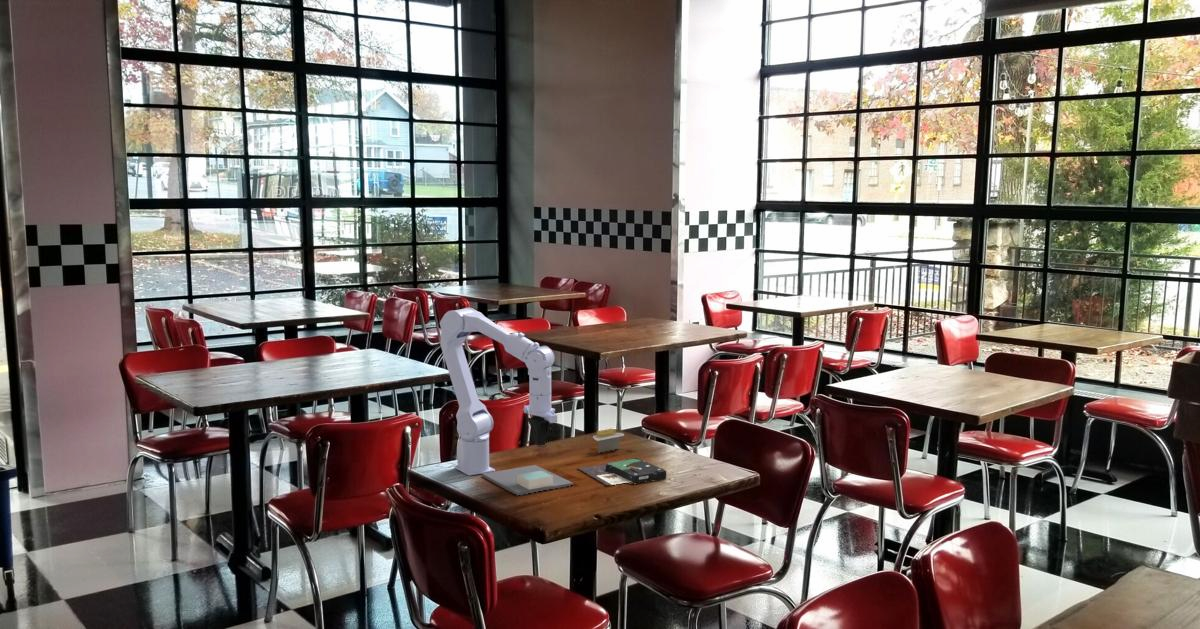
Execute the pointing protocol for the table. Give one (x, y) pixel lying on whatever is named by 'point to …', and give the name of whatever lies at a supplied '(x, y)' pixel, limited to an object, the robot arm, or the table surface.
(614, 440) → the grey rimmed container
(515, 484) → the mat
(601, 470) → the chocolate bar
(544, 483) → the tile
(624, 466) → the disk drive
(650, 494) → the table surface
